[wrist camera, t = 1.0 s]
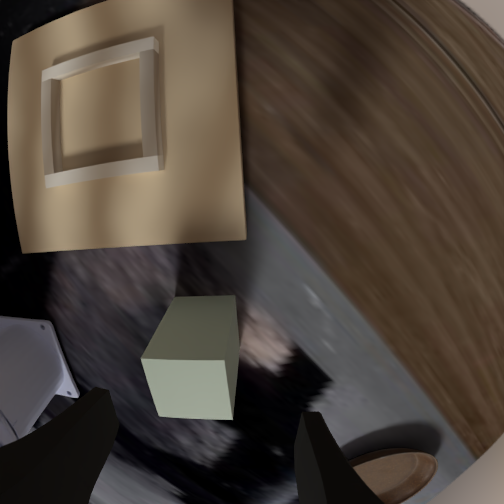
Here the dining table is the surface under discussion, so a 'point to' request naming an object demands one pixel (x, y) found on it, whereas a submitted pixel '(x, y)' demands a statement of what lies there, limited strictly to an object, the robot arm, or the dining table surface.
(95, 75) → the display plinth
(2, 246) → the dining table surface
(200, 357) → the sage block
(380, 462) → the saucer
